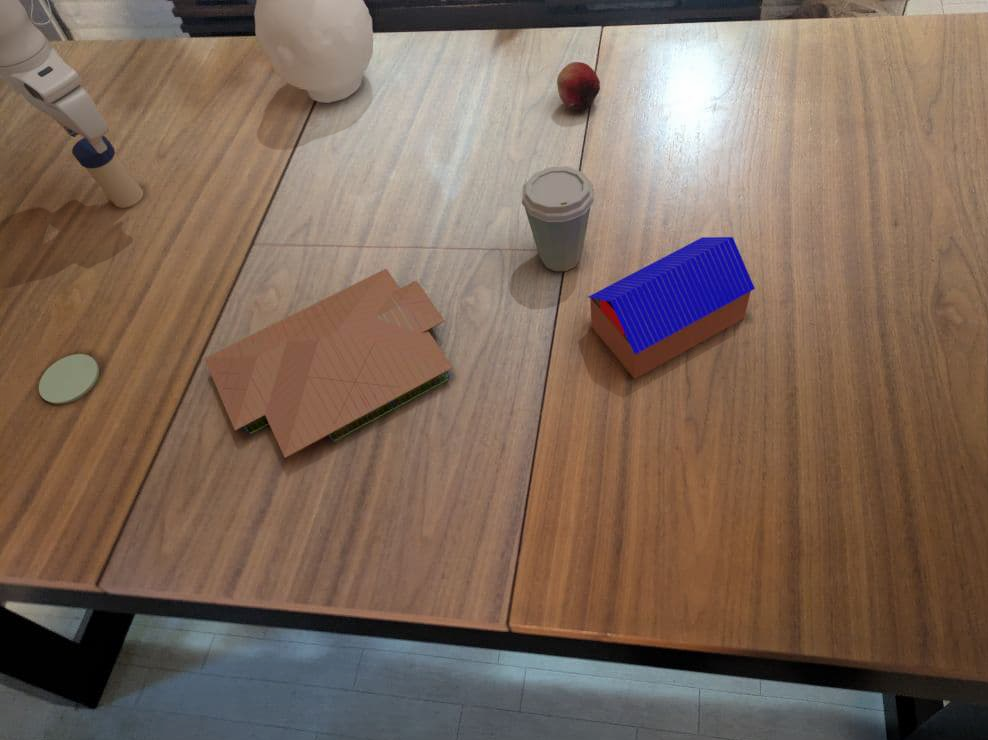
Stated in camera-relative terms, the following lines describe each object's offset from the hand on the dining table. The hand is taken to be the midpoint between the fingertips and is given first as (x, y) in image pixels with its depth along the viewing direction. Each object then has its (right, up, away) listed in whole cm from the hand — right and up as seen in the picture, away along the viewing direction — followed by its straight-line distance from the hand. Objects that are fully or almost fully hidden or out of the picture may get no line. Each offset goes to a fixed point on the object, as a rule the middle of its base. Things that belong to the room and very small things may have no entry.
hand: (88, 141), depth 120 cm
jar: (+1, -6, +10) cm, 12 cm away
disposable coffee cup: (+81, -21, -7) cm, 84 cm away
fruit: (+85, +11, +12) cm, 86 cm away
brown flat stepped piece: (+48, -40, -15) cm, 64 cm away
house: (+96, -33, -16) cm, 103 cm away
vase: (+36, +19, +22) cm, 46 cm away
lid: (0, -1, +1) cm, 1 cm away
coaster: (+4, -41, -11) cm, 43 cm away
